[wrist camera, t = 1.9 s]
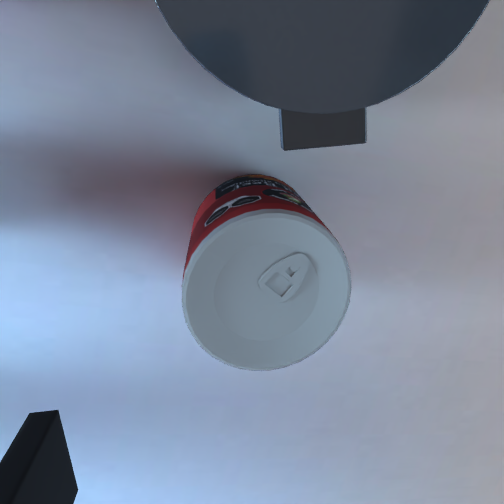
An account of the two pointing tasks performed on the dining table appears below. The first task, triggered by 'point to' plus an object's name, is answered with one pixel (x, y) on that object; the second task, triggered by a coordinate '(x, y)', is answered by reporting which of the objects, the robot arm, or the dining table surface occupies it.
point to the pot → (321, 55)
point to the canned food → (262, 276)
